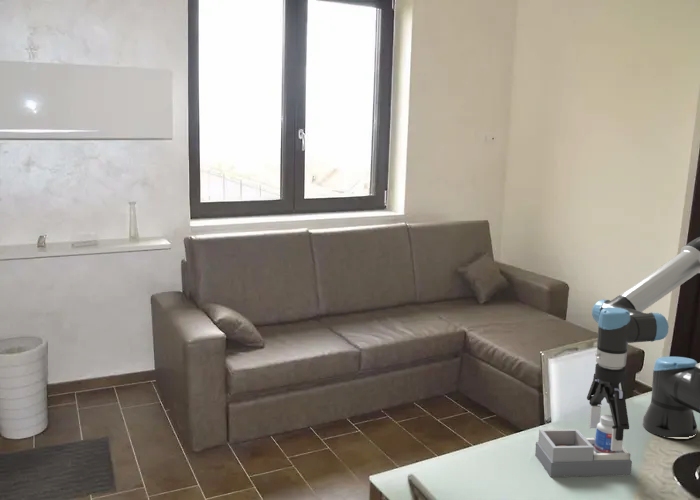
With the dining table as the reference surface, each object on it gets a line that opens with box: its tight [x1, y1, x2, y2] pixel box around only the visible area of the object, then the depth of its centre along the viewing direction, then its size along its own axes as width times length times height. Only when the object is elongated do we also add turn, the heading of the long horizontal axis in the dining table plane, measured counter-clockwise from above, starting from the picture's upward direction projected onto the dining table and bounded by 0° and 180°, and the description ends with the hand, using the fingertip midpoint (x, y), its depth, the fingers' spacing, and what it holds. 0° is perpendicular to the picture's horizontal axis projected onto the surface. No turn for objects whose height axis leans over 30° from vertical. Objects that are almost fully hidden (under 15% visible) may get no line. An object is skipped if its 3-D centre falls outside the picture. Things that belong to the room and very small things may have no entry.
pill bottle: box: [594, 414, 615, 453], centre depth 175 cm, size 6×5×10 cm
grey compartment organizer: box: [534, 428, 633, 478], centre depth 175 cm, size 22×12×8 cm, turn 93°
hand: (604, 438), depth 175 cm, fingers open, 13 cm apart
